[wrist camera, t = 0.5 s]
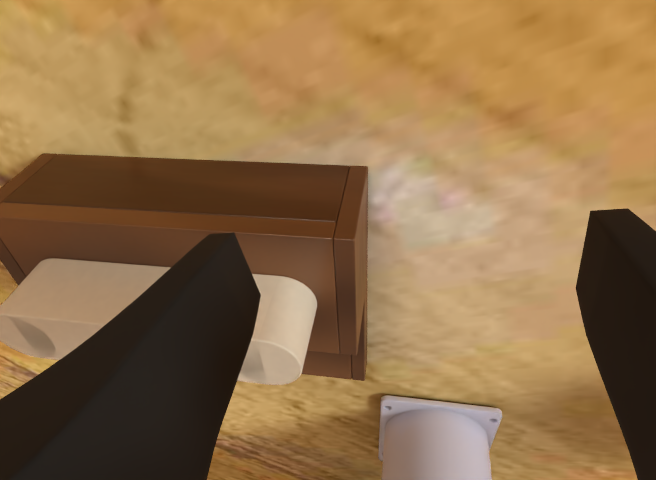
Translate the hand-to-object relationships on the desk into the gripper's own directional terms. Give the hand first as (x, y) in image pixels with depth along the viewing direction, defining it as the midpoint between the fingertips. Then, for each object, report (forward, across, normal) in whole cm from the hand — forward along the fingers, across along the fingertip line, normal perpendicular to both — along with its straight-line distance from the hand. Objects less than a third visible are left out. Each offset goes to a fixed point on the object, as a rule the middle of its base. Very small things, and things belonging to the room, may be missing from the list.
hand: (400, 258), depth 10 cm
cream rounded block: (+5, +11, +7) cm, 14 cm away
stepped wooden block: (+10, +11, +9) cm, 18 cm away
